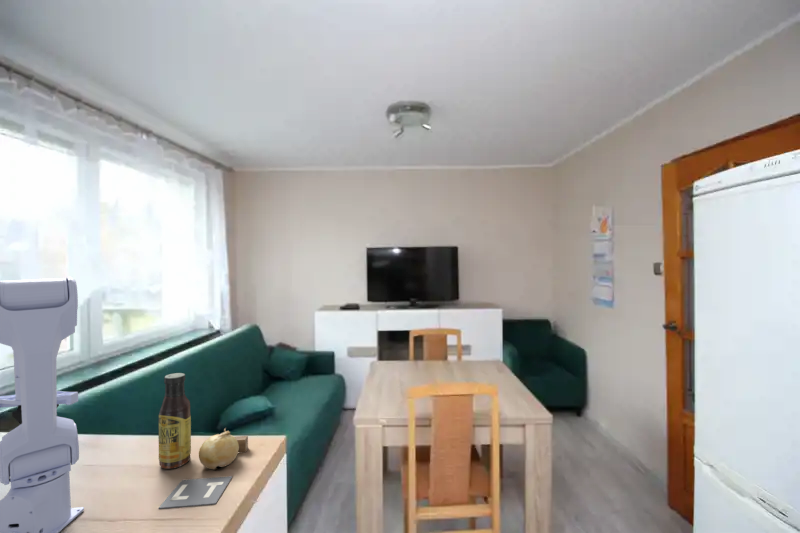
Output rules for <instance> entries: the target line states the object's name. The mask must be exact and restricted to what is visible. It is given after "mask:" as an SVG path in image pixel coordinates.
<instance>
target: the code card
mask: <svg viewBox="0 0 800 533" xmlns="http://www.w3.org/2000/svg"><path fill="white" fill-rule="evenodd" d="M232 478H233V475H229V476H217V477H214V476H213V477H203V478H188V479H187V478H186V479H182V480H180V482H179V483H178V484H177V485H176V487H174V489H173V490H172V491H171V492H170V493H169V495H167V497H166V498H165V500H163V502H162V503H161V505H160V506H159V507H158V509H159V510H161V509H173V508H186V507H198V506H199V507H200V506H210V505H211V506H212V505H216V504H217V503H218V501H219V500H220V498H221V496H223V495H222V494H223V493H224V492H225V490H226V488H227V487H226V486H228V485H229V484H230V482H231V480H232Z"/></svg>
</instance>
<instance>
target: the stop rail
mask: <svg viewBox="0 0 800 533" xmlns="http://www.w3.org/2000/svg"><path fill="white" fill-rule="evenodd" d="M234 437H235V439H236V440H237V442H238V444H239V451H238V452H242V453H246V452H247V451H248V450H249V436H248V435H239V436H234Z"/></svg>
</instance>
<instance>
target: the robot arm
mask: <svg viewBox="0 0 800 533" xmlns="http://www.w3.org/2000/svg"><path fill="white" fill-rule="evenodd" d="M78 298H79V296H78V286H77V281H76V279H74V278H73V276H72V277H71V276H66V277H63V278H62V277H61V278H60V277H59V278H39V279H38V278H37V279H36V278H35V279H32V278H31V279H14V280H13V279H12V280H10V279H9V280H0V344H1V345H4V346H7V347H10V348H11V349H12V353H13V368H14V369H13V370H14V371H13V372H14V373H13V374H14V375H13V376H14V390H15V391H14V394H9V395H0V409H1V408H14V407H17V408H16V410H14V411H13V412H11V417H12V418H14V420H15V421H17V423H19V425H18V426H16V427H15V428H13V429H12V430H10V431H9V432H8V433H6V434H4V435H3V436H1V440H0V484H2V485H4V486H7V485H10V489H9V490H8V492H7V493H6V494H5V496H4V497H3V498H1V500H0V533H60V532H61V531H62V530H63V529H64V528H65V527H67V526H68V525H69V524H70V523H71V522H72V521H74V520H75V519H76V517H78V516H79V515H80V514H82V512H84V511H85V507H84V506H81V507H79V506H78V507H72V501H71V481H70V480H71V479H70V478H71V477H70V472H71V471H72V466H73V465H76V463H77V462H78V461H79V458H80V444H79V442H80V441H79V434H78V429H77V428H78V427H77V423H75V421H74V419H71V418H67V417H63V416H58V413H57V412H58V407H59V405H67V406H70V405H73V404H75V403H78V402H79V391H62V390H57V385H58V384H57V357H58V353H59V350H60V348H61V344H62V341H63V340H65V339H66V338H68V337H69V336H71V335H73V334H75V333H76V327H77V325H78V306H79V304H78V303H79V302H78V301H79V300H78Z"/></svg>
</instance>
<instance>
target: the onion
mask: <svg viewBox="0 0 800 533" xmlns="http://www.w3.org/2000/svg"><path fill="white" fill-rule="evenodd" d="M226 429H227V427H225V428H224V429H223V432H221V433H220V434H219V433H217V434H214V435H211V436H210V437H208V438H206V440H204V441H203V442H202V444H201V446H200V447H199V450H198V459H199V462H200V463H201V465H202V466H203V467H205V468H207V469H209V470H217V467H219V468H220V467H222V468H224V467H226V466H228V465H230V464H232V462H234V461H235V459H236V458H237V456H238V454H239V453H238V451H239V444H238V442H237V440H236V439H235V437H236V436H234V435H232V434H231V431H229V430H226Z"/></svg>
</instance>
